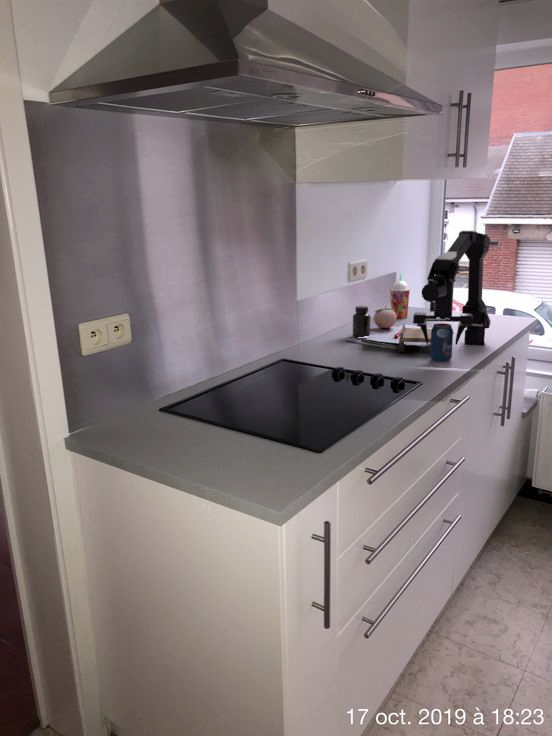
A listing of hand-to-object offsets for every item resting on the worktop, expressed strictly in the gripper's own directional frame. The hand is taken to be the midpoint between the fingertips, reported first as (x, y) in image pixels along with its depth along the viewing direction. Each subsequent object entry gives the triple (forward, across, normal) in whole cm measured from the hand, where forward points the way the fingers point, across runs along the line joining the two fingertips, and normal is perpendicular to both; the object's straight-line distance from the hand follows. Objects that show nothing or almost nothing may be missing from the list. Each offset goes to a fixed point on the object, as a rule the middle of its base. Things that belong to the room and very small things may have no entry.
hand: (441, 344), depth 205 cm
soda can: (+6, 0, 0) cm, 6 cm away
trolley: (+6, +8, -16) cm, 19 cm away
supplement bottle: (+6, +30, -30) cm, 43 cm away
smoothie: (+6, +18, -66) cm, 69 cm away
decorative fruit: (+6, +22, -44) cm, 50 cm away
